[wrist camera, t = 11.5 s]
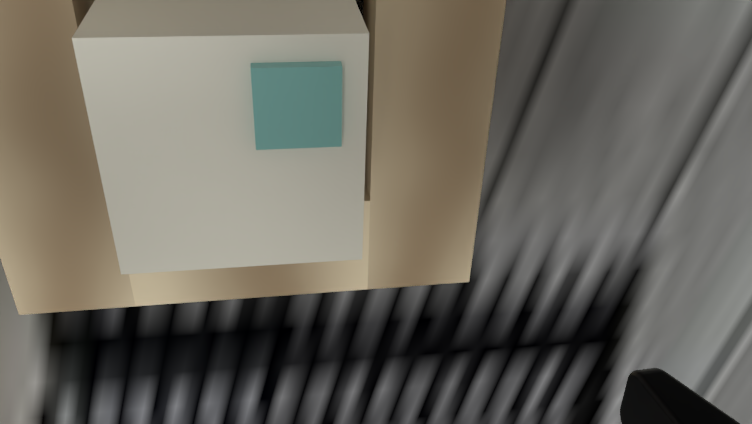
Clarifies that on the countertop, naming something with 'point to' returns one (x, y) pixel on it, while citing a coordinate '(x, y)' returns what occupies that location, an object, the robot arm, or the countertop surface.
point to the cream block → (228, 129)
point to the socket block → (375, 270)
